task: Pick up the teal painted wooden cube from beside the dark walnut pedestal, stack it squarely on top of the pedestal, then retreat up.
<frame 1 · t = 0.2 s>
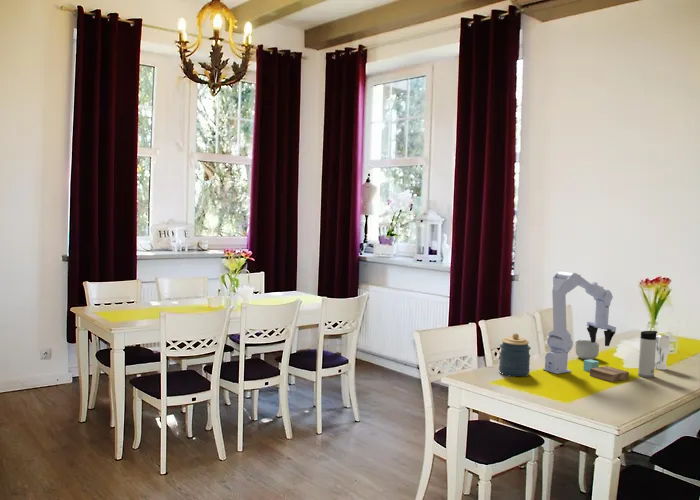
hand: (600, 344, 295), 10 cm above the table, fingers open, 7 cm apart
teal cube: (590, 370, 285), on the table
beer glass: (659, 368, 292), on the table
walnut base: (608, 377, 275), on the table
canister: (513, 374, 277), on the table
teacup: (585, 358, 310), on the table
travel mug: (646, 376, 278), on the table
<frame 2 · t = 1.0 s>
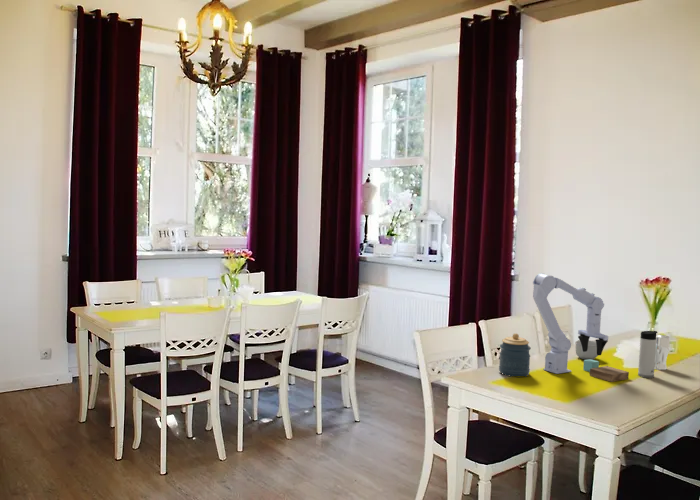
hand: (591, 353, 285), 8 cm above the table, fingers open, 7 cm apart
nothing on the table moved.
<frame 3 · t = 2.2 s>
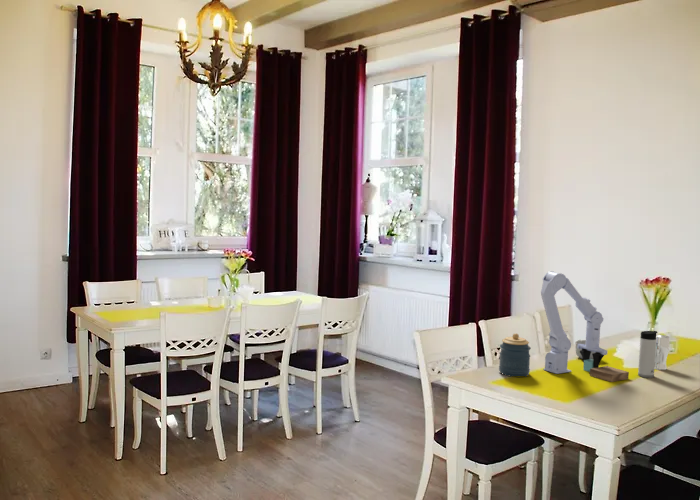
hand: (591, 367, 285), 1 cm above the table, fingers closed on teal cube, 4 cm apart
teal cube: (590, 370, 285), on the table, touching gripper
everything else where it was.
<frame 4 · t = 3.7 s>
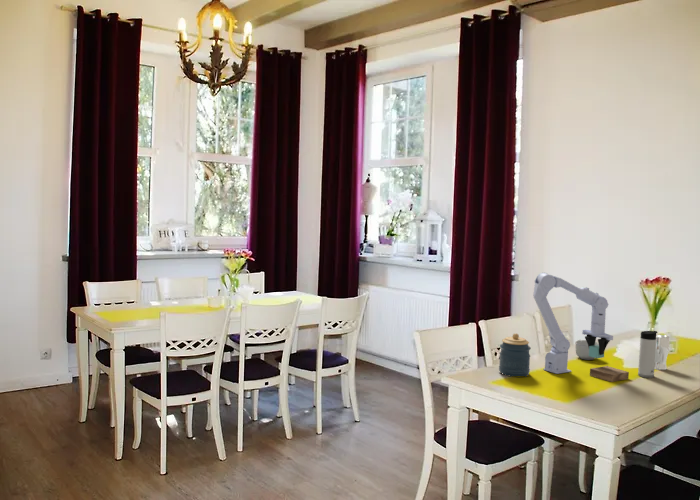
hand: (596, 353, 282), 8 cm above the table, fingers closed on teal cube, 4 cm apart
teal cube: (596, 356, 282), point 7 cm above the table, touching gripper
everything else where it was.
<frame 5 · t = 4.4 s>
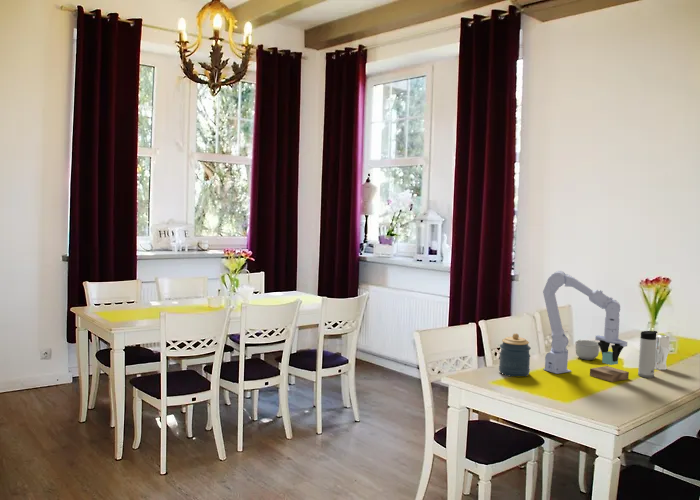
hand: (609, 359, 274), 8 cm above the table, fingers closed on teal cube, 4 cm apart
teal cube: (609, 363, 274), point 6 cm above the table, touching gripper
everything else where it was.
when the fingers open (5 cm above the table, at t = 5.2 s): teal cube stays where it is, resting on walnut base.
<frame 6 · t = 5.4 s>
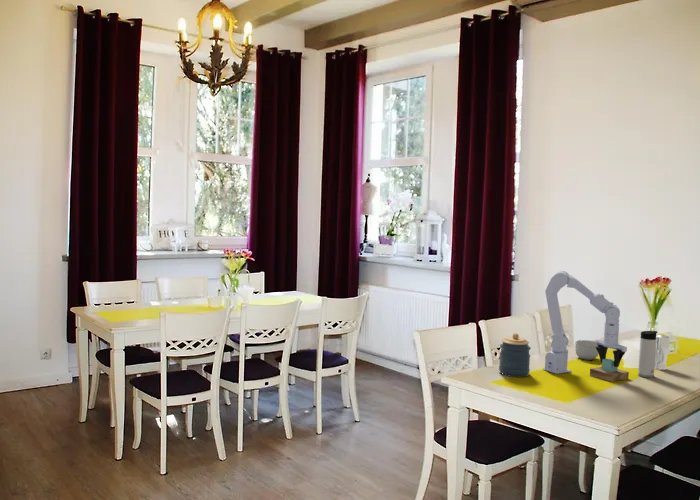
hand: (609, 364, 274), 5 cm above the table, fingers open, 6 cm apart
teal cube: (609, 370, 275), point 3 cm above the table, touching walnut base
everything else where it was.
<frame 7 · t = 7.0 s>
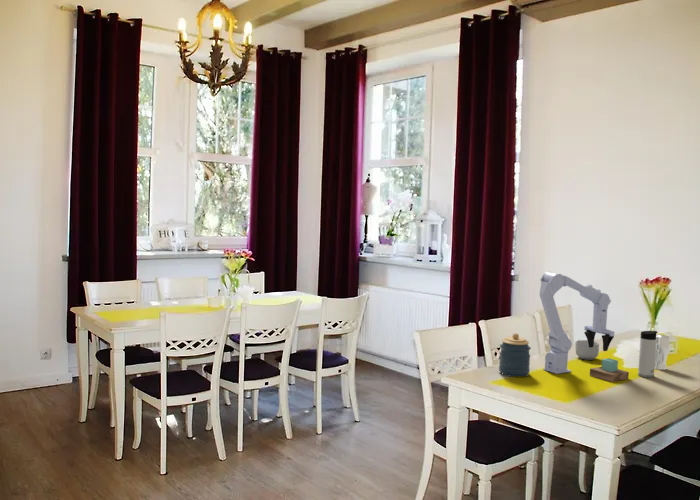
hand: (598, 349, 287), 9 cm above the table, fingers open, 7 cm apart
nothing on the table moved.
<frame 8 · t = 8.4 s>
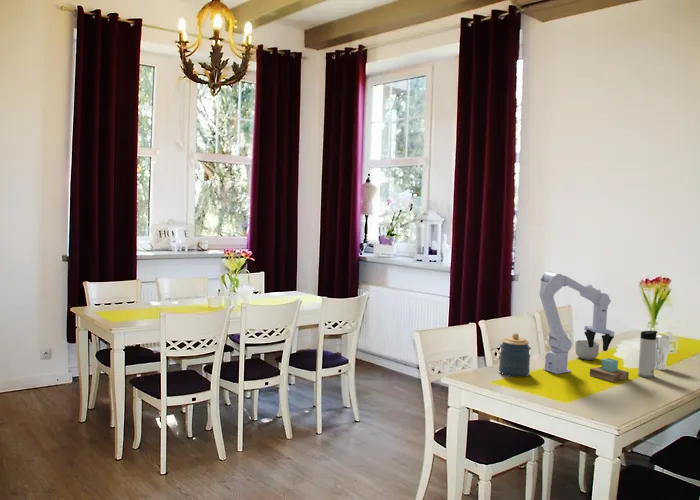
hand: (598, 349, 287), 9 cm above the table, fingers open, 7 cm apart
nothing on the table moved.
at the end: teal cube 0.1 cm off-centre on the walnut base, point 3.0 cm above the walnut base's base; teal cube tilted 0°; the gripper is holding nothing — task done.
